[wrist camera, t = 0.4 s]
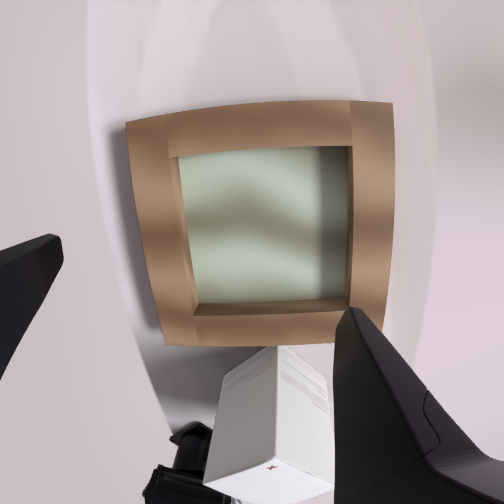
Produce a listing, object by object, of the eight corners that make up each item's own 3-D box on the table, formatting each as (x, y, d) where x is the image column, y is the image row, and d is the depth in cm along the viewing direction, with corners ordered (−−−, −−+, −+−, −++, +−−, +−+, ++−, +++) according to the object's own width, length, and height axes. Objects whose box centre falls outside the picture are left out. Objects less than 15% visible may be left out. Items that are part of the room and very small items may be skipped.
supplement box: (221, 374, 29) (197, 483, 17) (278, 335, 27) (276, 456, 15) (271, 410, 31) (266, 512, 19) (327, 378, 28) (343, 488, 17)
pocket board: (373, 322, 26) (380, 338, 23) (173, 328, 27) (165, 345, 25) (380, 106, 20) (392, 103, 17) (139, 123, 21) (125, 122, 19)
